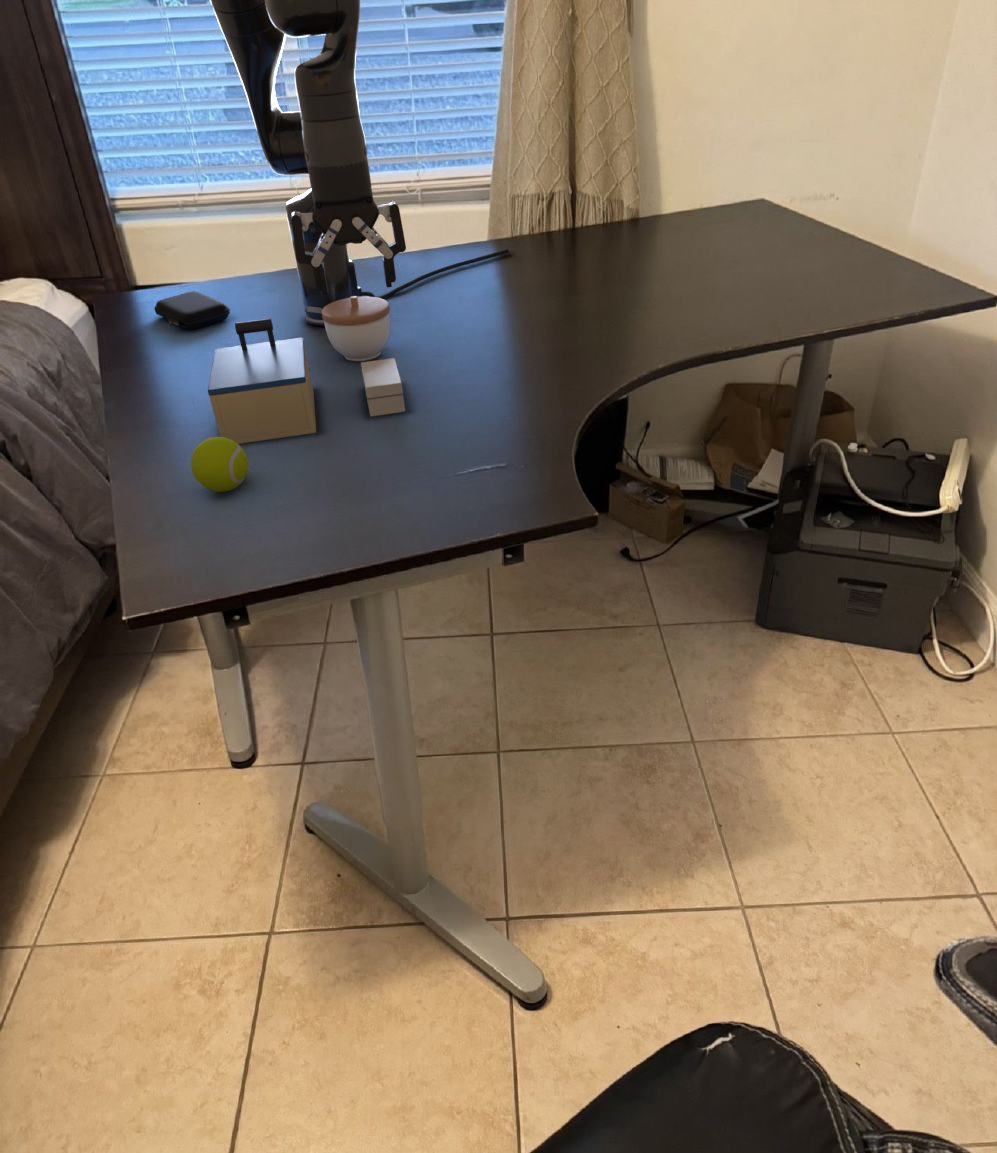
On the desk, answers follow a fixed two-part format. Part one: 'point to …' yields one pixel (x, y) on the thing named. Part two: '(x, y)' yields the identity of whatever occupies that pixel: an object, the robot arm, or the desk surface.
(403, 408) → the beige case
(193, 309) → the carrying case
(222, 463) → the tennis ball
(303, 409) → the storage box
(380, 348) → the white bowl with lid
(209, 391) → the blue lid
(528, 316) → the desk surface
